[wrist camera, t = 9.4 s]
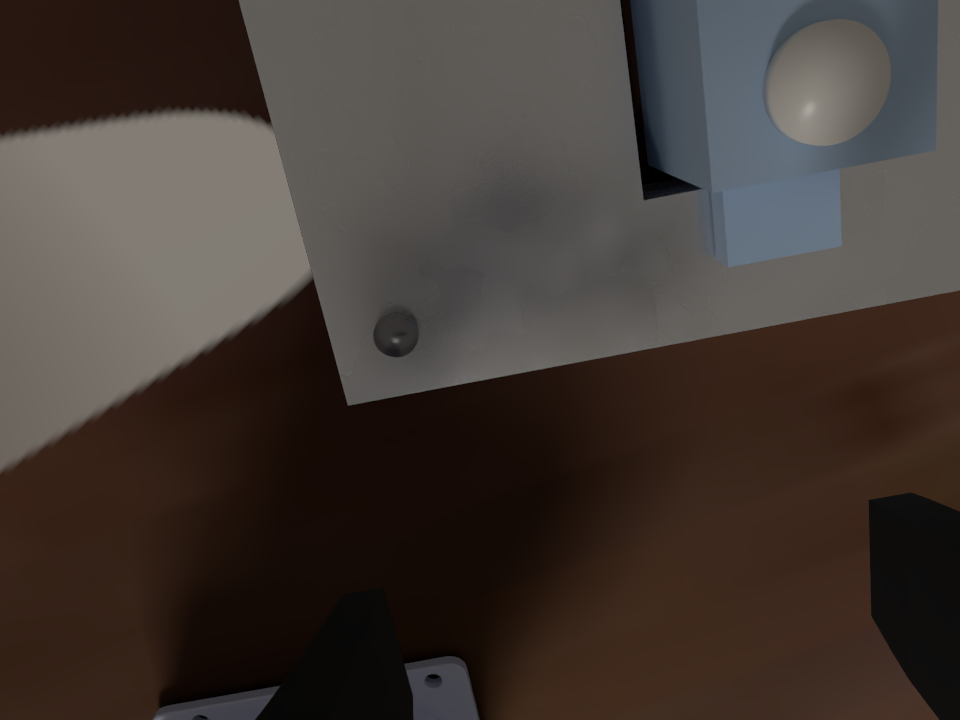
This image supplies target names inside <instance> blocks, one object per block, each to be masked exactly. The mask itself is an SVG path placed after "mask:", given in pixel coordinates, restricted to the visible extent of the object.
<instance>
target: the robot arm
mask: <svg viewBox="0 0 960 720" xmlns="http://www.w3.org/2000/svg"><path fill="white" fill-rule="evenodd" d="M869 530H870V573H871V616H872V617H873V619H874V621H875V623H876V625H877V626H878V628H879V630H880V632H881V633H882V635H883V637H884V639H885V640H886V642H887V644H888V646H889V647H890V649H891V651H892V652H893V654H894V656H895V657H896V659H897V661H898V662H899V664H900V666H901V667H902V669H903V671H904V672H905V674H906V675H907V677H908V679H909V680H910V681H911V683H912V684H913V685H914V687H915V688H916V689H917V691H918V692H919V693H920V695H921V696H922V697H923V699H924V700H925V701H926V703H927V704H928V705H929V707H930V708H931V709H932V710H933V712H934V713H935V714H936V716H937V717H938V718H939V720H960V512H959V511H956V510H954V509H952V508H949V507H947V506H945V505H942V504H940V503H937V502H935V501H932V500H930V499H927V498H925V497H922V496H919V495H916V494H914V493H906V494H901V495H895V496H890V497H884V498H878V499H873V500H869ZM430 674H437V675H439V676H440V677H438V678H436V679H431V678H429V677H427V676H428V675H430ZM198 715H203V716H205V717H207V718H208V719H203V718H201V717H199V716H198ZM153 720H480V719H479V715H478V711H477V707H476V703H475V698H474V694H473V690H472V686H471V682H470V678H469V674H468V670H467V666H466V664H465V662H464V661H462V660H461V659H460V658H457V657H454V656H446V657H440V658H435V659H429V660H423V661H418V662H412V663H406V664H404V661H403V658H402V654H401V650H400V647H399V643H398V640H397V636H396V632H395V629H394V625H393V621H392V618H391V614H390V611H389V607H388V603H387V600H386V596H385V593H384V589H383V588H379V589H373V590H367V591H362V592H356V593H351V594H345V595H343V596H342V597H341V599H340V600H339V601H338V603H337V604H336V606H335V607H334V609H333V610H332V611H331V613H330V614H329V616H328V617H327V619H326V620H325V622H324V623H323V625H322V626H321V628H320V629H319V631H318V632H317V634H316V635H315V637H314V638H313V640H312V641H311V643H310V644H309V645H308V647H307V648H306V650H305V651H304V653H303V654H302V656H301V657H300V659H299V660H298V662H297V663H296V664H295V666H294V667H293V669H292V670H291V671H290V673H289V674H288V676H287V677H286V678H285V680H284V681H283V683H282V684H281V685H280V686H276V687H270V688H265V689H259V690H253V691H248V692H242V693H236V694H231V695H225V696H219V697H214V698H208V699H202V700H197V701H191V702H185V703H180V704H174V705H168V706H165V707H162V708H160V709H159V710H158V711H157V712H156V714H155V716H154V718H153Z"/></svg>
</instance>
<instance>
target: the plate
mask: <svg viewBox="0 0 960 720" xmlns="http://www.w3.org/2000/svg"><path fill="white" fill-rule="evenodd" d="M239 3H240V7H241V11H242V15H243V18H244V22H245V26H246V29H247V33H248V37H249V41H250V44H251V48H252V52H253V55H254V59H255V63H256V67H257V70H258V74H259V78H260V81H261V85H262V89H263V93H264V96H265V100H266V104H267V107H268V111H269V115H270V118H271V122H272V126H273V130H274V133H275V137H276V141H277V144H278V148H279V152H280V156H281V159H282V163H283V167H284V170H285V174H286V178H287V182H288V185H289V189H290V193H291V196H292V200H293V204H294V207H295V211H296V215H297V219H298V222H299V226H300V230H301V233H302V237H303V241H304V244H305V248H306V252H307V256H308V259H309V263H310V267H311V271H312V274H313V278H314V282H315V286H316V289H317V293H318V297H319V300H320V304H321V308H322V311H323V315H324V319H325V323H326V326H327V330H328V334H329V337H330V341H331V345H332V349H333V352H334V356H335V360H336V363H337V367H338V371H339V375H340V378H341V382H342V386H343V389H344V393H345V397H346V401H347V404H348V406H349V405H354V404H359V403H364V402H370V401H375V400H380V399H386V398H391V397H396V396H402V395H407V394H412V393H417V392H423V391H428V390H433V389H439V388H444V387H449V386H455V385H460V384H465V383H470V382H476V381H481V380H486V379H492V378H497V377H502V376H508V375H513V374H518V373H523V372H529V371H534V370H539V369H545V368H550V367H555V366H561V365H566V364H571V363H577V362H582V361H587V360H592V359H598V358H603V357H608V356H614V355H619V354H624V353H630V352H635V351H640V350H645V349H651V348H656V347H661V346H667V345H672V344H677V343H683V342H688V341H693V340H698V339H704V338H709V337H714V336H720V335H725V334H730V333H736V332H741V331H746V330H751V329H757V328H762V327H767V326H773V325H778V324H783V323H789V322H794V321H799V320H804V319H810V318H815V317H820V316H826V315H831V314H836V313H842V312H847V311H852V310H858V309H863V308H868V307H873V306H879V305H884V304H889V303H895V302H900V301H905V300H911V299H916V298H921V297H926V296H932V295H937V294H942V293H948V292H953V291H958V290H960V0H938V51H937V125H936V151H931V152H925V153H920V154H915V155H910V156H904V157H899V158H894V159H888V160H883V161H878V162H873V163H867V164H862V165H857V166H852V167H846V168H841V169H840V204H841V240H842V246H840V247H835V248H829V249H824V250H819V251H813V252H808V253H803V254H797V255H792V256H787V257H781V258H776V259H770V260H765V261H760V262H754V263H749V264H744V265H738V266H733V267H727V266H726V265H724V264H723V263H721V262H720V261H718V260H717V259H716V248H715V236H714V224H713V212H712V200H711V192H709V191H707V190H704V189H702V188H700V187H697V186H695V185H693V184H691V183H688V182H686V181H684V180H681V179H679V178H676V179H671V180H666V181H661V182H655V183H650V184H645V185H642V182H641V174H640V165H639V157H638V148H637V140H636V131H635V123H634V114H633V106H632V97H631V89H630V80H629V72H628V63H627V55H626V46H625V38H624V29H623V21H622V12H621V4H620V0H239Z"/></svg>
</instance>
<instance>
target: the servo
mask: <svg viewBox="0 0 960 720" xmlns="http://www.w3.org/2000/svg"><path fill="white" fill-rule="evenodd" d="M630 4H631V13H632V22H633V31H634V40H635V50H636V59H637V68H638V77H639V86H640V96H641V105H642V114H643V123H644V132H645V142H646V151H647V160H648V165H649V166H651V167H654V168H656V169H658V170H660V171H663V172H665V173H667V174H670V175H672V176H674V177H677V178H679V179H681V180H684V181H686V182H688V183H691V184H693V185H695V186H697V187H700V188H702V189H704V190H707V191H709V192H711V200H712V212H713V224H714V236H715V248H716V259H717V260H718V261H720V262H721V263H723V264H724V265H726V266H727V267H733V266H738V265H744V264H749V263H754V262H760V261H765V260H770V259H776V258H781V257H787V256H792V255H797V254H803V253H808V252H813V251H819V250H824V249H829V248H835V247H840V246H842V240H841V204H840V169H841V168H846V167H852V166H857V165H862V164H867V163H873V162H878V161H883V160H888V159H894V158H899V157H904V156H910V155H915V154H920V153H925V152H931V151H936V125H937V51H938V0H630Z"/></svg>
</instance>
